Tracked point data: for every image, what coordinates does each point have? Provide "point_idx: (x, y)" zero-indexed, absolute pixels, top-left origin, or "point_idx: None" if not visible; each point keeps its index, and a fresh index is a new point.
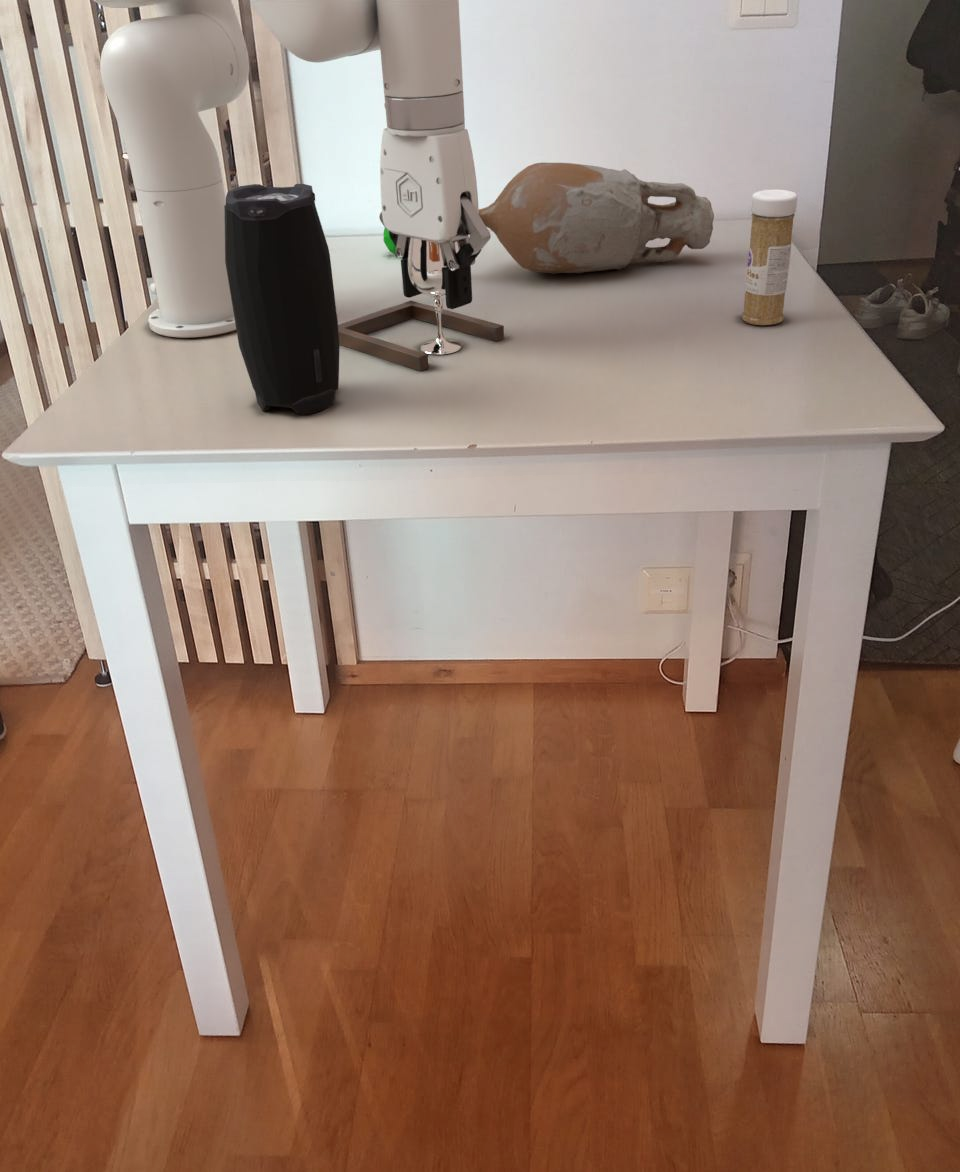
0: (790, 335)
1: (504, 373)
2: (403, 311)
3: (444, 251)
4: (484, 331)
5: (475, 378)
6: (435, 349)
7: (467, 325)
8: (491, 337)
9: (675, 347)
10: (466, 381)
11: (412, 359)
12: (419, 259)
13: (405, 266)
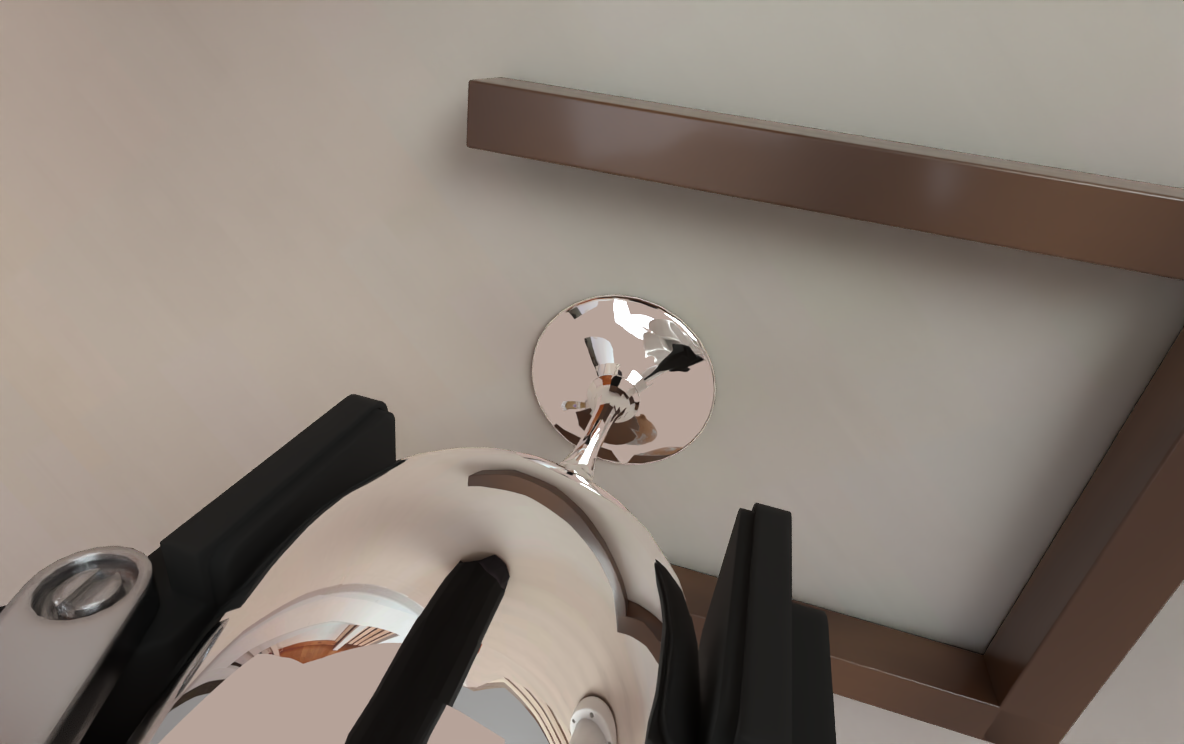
0: None
1: (233, 244)
2: (1021, 654)
3: (57, 710)
4: None
5: (266, 140)
6: (599, 329)
7: None
8: None
9: None
10: (265, 89)
11: (532, 86)
12: (333, 612)
13: (738, 686)
